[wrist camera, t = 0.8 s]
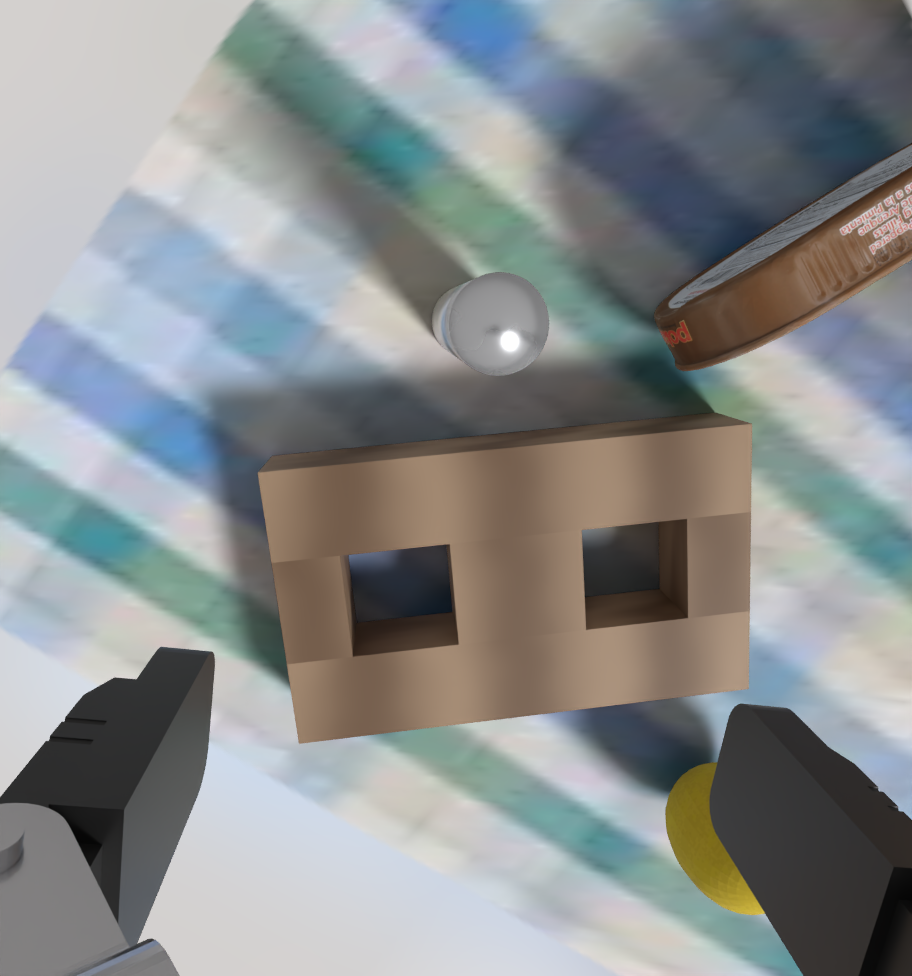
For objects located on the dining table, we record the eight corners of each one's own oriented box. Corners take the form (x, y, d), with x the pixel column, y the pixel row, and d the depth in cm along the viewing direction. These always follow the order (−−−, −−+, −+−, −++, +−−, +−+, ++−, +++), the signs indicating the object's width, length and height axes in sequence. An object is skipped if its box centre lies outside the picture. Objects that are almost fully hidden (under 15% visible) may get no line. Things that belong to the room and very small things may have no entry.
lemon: (622, 776, 37) (683, 898, 30) (709, 711, 37) (794, 817, 29) (683, 844, 39) (756, 978, 31) (768, 782, 38) (863, 902, 30)
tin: (650, 370, 33) (736, 389, 25) (617, 308, 32) (694, 306, 24) (948, 185, 32) (1139, 141, 24) (921, 117, 31) (1110, 47, 23)
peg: (498, 282, 31) (546, 268, 21) (503, 353, 32) (551, 370, 22) (428, 288, 31) (444, 276, 21) (434, 359, 32) (453, 380, 22)
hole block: (715, 412, 33) (752, 423, 30) (715, 653, 36) (748, 688, 33) (272, 455, 32) (257, 472, 29) (308, 702, 35) (299, 743, 32)
